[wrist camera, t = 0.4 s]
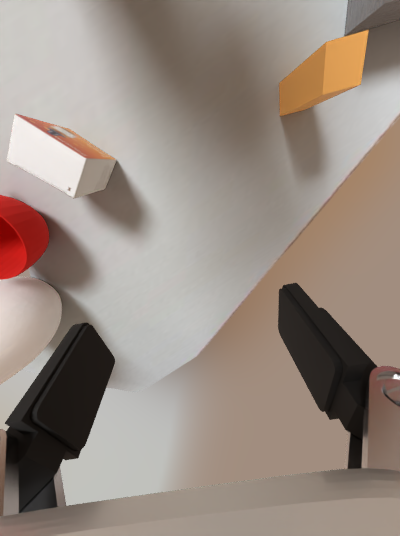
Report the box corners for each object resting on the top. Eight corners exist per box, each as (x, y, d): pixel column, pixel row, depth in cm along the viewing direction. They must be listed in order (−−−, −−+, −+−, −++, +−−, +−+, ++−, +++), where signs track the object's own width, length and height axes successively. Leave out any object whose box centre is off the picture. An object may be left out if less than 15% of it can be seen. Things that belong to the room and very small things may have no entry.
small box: (117, 160, 32) (88, 159, 22) (105, 189, 34) (74, 200, 25) (67, 126, 29) (12, 110, 20) (58, 161, 31) (4, 161, 22)
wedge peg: (279, 83, 28) (326, 41, 18) (306, 75, 28) (368, 29, 18) (279, 116, 30) (322, 94, 20) (305, 109, 30) (360, 84, 20)
